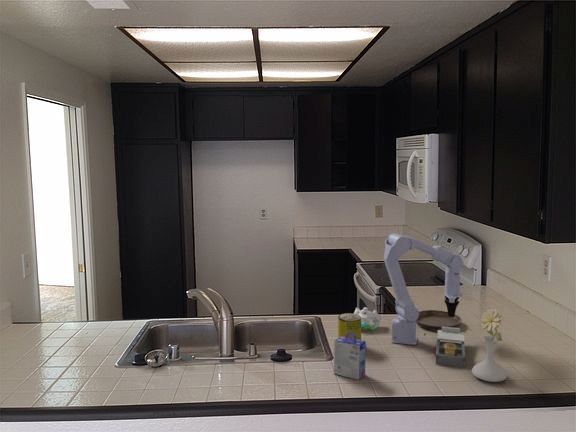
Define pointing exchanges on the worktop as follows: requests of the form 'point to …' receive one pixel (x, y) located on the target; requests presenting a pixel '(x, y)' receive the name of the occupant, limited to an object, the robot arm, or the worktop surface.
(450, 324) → the plant saucer
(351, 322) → the yellow tin can
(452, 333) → the lid
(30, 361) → the worktop surface
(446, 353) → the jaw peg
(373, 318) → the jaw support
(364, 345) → the ink cartridge box
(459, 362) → the housing
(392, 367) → the worktop surface
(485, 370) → the flower in vase
